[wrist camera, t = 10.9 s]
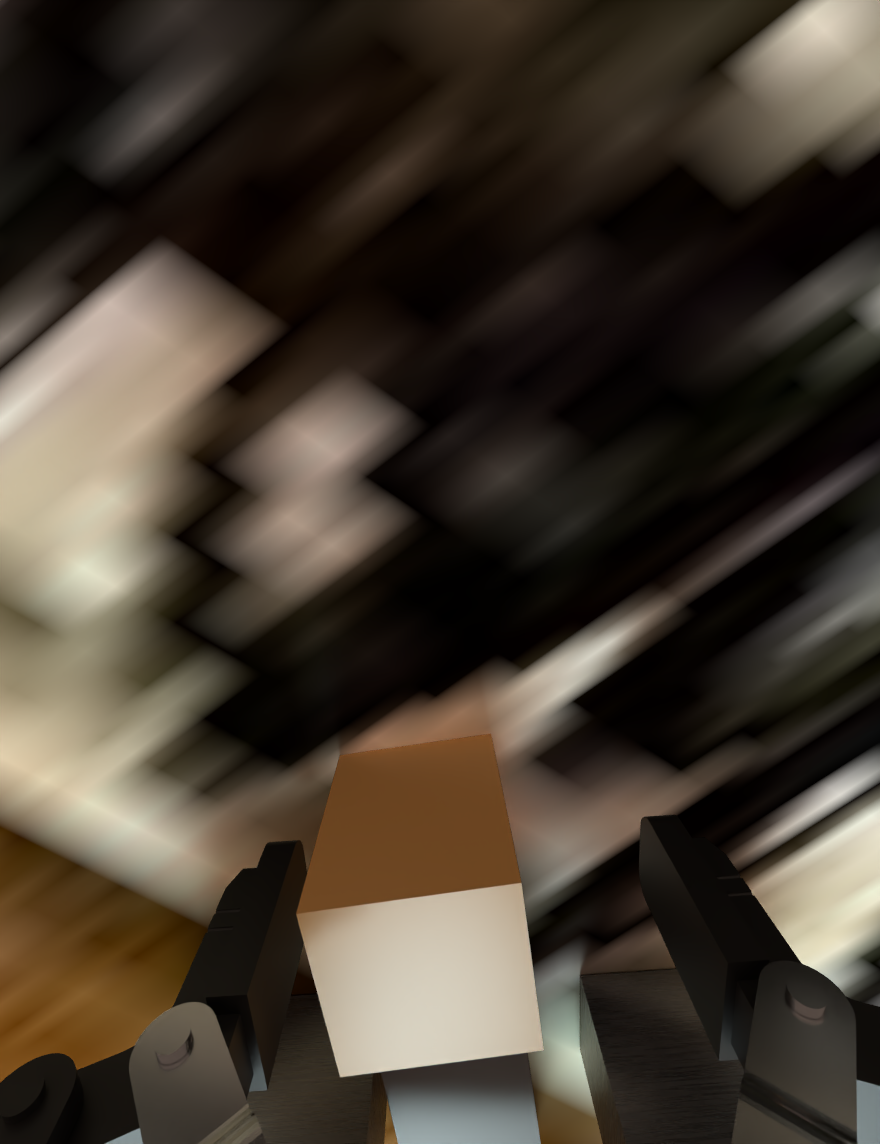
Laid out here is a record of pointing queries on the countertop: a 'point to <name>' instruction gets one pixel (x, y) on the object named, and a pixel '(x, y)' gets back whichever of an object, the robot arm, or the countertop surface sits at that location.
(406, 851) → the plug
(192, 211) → the countertop surface
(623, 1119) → the housing
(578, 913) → the countertop surface
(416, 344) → the countertop surface
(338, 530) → the countertop surface
